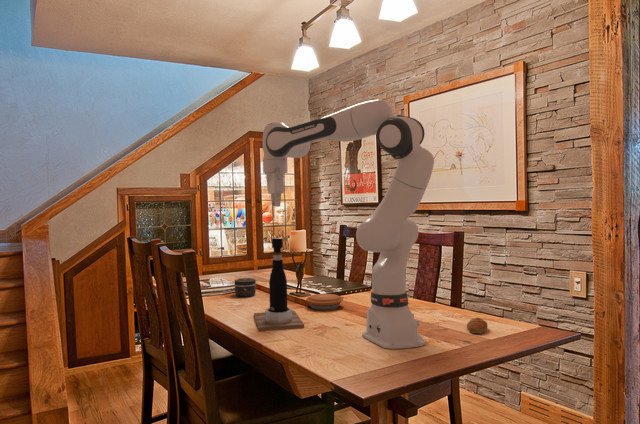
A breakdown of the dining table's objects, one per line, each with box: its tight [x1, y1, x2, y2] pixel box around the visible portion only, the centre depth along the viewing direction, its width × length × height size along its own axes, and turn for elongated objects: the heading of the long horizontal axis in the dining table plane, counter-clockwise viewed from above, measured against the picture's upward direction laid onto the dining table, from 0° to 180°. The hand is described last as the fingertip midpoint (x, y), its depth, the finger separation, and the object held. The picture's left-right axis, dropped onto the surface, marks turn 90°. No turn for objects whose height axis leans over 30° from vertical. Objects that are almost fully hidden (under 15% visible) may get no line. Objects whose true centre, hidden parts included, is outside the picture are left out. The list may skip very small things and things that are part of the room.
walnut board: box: [253, 309, 305, 332], centre depth 180 cm, size 22×16×1 cm
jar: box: [234, 277, 257, 298], centre depth 229 cm, size 10×10×8 cm
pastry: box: [466, 317, 488, 335], centre depth 163 cm, size 9×7×4 cm
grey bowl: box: [264, 306, 293, 324], centre depth 177 cm, size 10×10×4 cm
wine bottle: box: [268, 238, 288, 312], centre depth 176 cm, size 6×6×30 cm
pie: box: [306, 293, 344, 311], centre depth 202 cm, size 15×16×5 cm
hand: (276, 206), depth 175 cm, fingers open, 8 cm apart
